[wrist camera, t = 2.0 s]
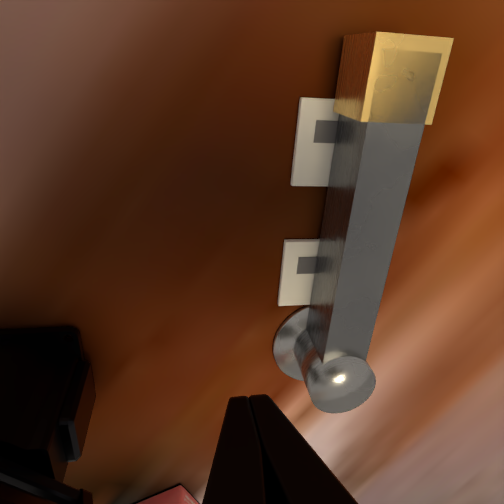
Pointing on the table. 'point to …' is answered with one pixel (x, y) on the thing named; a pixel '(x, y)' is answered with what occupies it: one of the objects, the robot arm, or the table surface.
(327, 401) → the swing arm
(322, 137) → the label tile
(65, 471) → the robot arm
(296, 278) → the label tile
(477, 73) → the table surface
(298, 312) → the pivot base
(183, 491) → the ink cartridge box
